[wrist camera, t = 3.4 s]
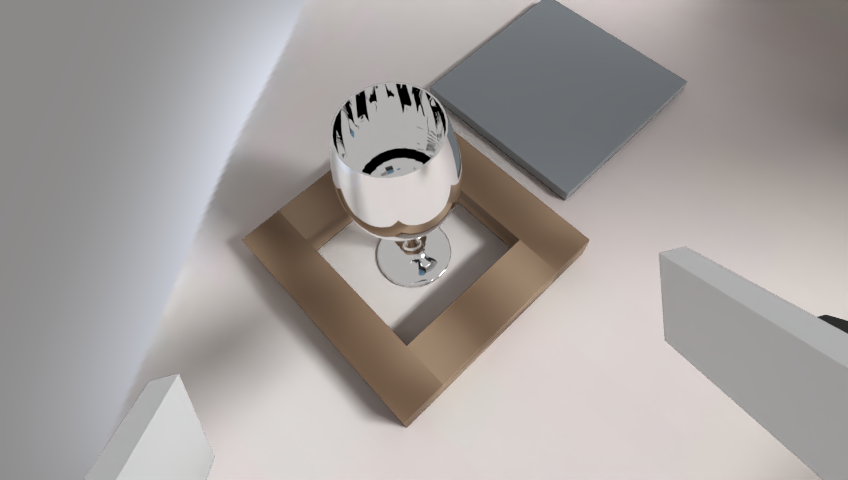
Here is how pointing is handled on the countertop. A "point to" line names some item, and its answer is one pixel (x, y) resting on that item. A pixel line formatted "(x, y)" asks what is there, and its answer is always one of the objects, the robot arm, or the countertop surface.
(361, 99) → the wineglass
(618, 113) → the coaster
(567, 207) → the countertop surface
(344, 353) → the brown wooden square frame
